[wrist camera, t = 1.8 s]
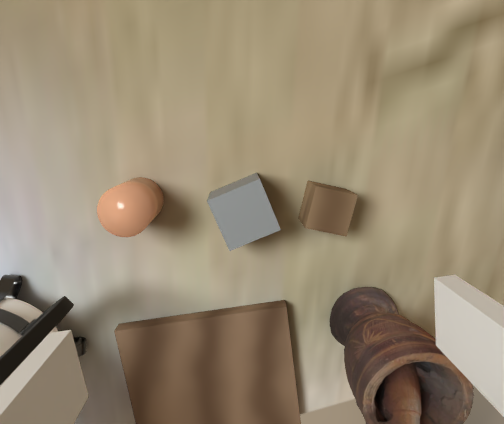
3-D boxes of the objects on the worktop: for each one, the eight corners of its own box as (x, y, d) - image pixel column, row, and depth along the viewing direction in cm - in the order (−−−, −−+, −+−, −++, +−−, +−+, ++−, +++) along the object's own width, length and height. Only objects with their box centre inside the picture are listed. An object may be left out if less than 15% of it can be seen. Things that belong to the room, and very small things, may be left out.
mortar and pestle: (395, 374, 42) (533, 580, 23) (321, 378, 42) (396, 591, 23) (401, 280, 40) (560, 421, 20) (322, 284, 40) (407, 431, 20)
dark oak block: (345, 188, 38) (358, 195, 34) (335, 225, 38) (346, 236, 35) (307, 180, 37) (316, 186, 33) (298, 218, 38) (305, 227, 34)
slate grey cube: (256, 172, 37) (259, 178, 32) (274, 217, 38) (280, 229, 33) (210, 191, 37) (207, 200, 32) (230, 235, 38) (229, 251, 33)
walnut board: (284, 300, 40) (286, 306, 38) (299, 424, 43) (302, 434, 42) (118, 323, 39) (114, 331, 38) (147, 447, 43) (144, 458, 41)
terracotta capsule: (159, 174, 36) (144, 182, 30) (167, 217, 37) (154, 233, 31) (115, 180, 36) (91, 190, 30) (124, 223, 37) (103, 240, 31)
